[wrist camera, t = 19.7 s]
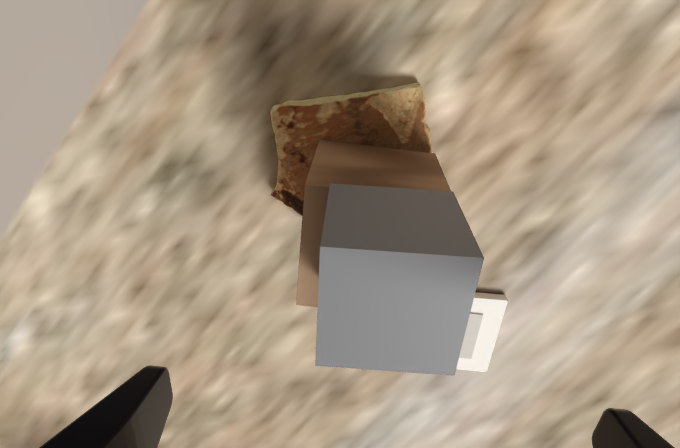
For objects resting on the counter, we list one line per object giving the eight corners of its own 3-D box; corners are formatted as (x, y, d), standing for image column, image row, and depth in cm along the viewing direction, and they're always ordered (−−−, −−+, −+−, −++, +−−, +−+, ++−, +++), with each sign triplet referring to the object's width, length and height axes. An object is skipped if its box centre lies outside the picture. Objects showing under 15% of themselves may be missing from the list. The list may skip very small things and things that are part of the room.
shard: (436, 280, 24) (440, 300, 22) (300, 291, 25) (295, 311, 23) (425, 76, 19) (430, 84, 17) (256, 100, 20) (246, 109, 18)
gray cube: (452, 191, 14) (484, 257, 11) (433, 291, 16) (454, 375, 12) (330, 183, 14) (319, 246, 11) (325, 283, 16) (315, 365, 12)
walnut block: (435, 153, 19) (456, 203, 14) (413, 251, 21) (425, 320, 17) (319, 139, 19) (304, 184, 14) (310, 239, 21) (296, 304, 17)
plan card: (505, 294, 23) (509, 304, 22) (484, 365, 26) (488, 376, 25) (374, 283, 23) (374, 293, 23) (366, 354, 26) (366, 365, 25)
